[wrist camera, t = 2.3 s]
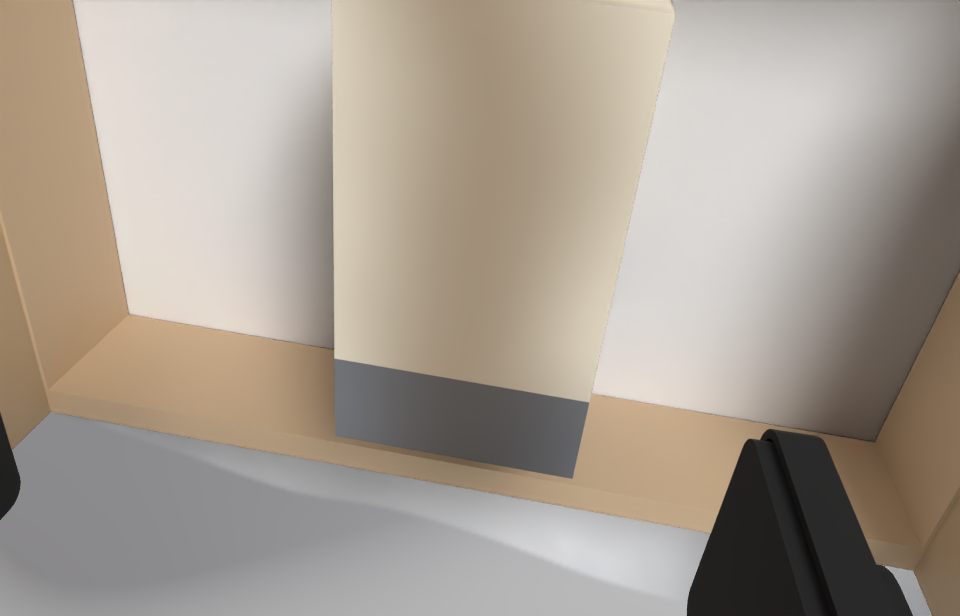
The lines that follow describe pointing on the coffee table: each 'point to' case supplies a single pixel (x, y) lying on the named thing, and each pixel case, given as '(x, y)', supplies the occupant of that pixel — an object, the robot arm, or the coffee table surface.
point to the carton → (311, 374)
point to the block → (483, 215)
